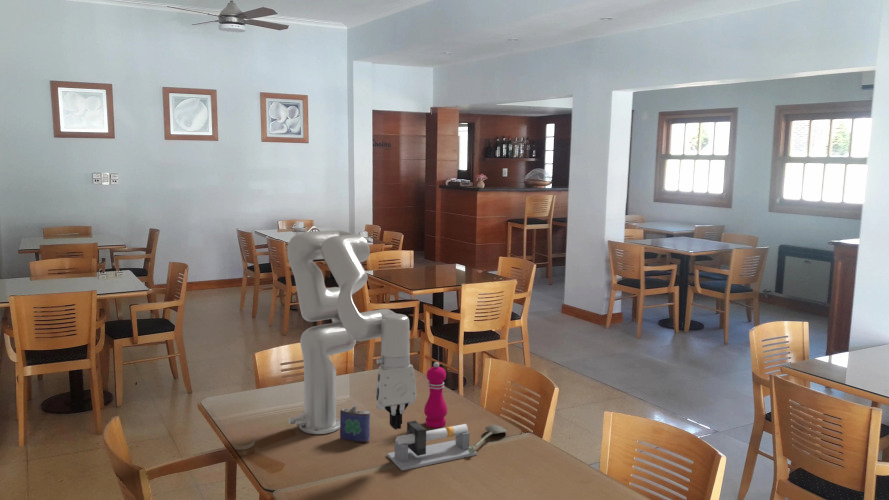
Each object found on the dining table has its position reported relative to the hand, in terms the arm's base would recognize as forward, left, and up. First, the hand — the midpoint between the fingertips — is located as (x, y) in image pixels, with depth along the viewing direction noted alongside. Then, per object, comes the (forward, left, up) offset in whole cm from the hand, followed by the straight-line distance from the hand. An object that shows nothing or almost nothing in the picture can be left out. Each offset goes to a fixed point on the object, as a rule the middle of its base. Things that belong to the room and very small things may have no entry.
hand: (395, 427), depth 181 cm
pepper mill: (+22, +20, -11) cm, 32 cm away
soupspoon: (+29, +1, -10) cm, 31 cm away
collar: (+6, +1, -8) cm, 10 cm away
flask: (-5, +19, -11) cm, 23 cm away
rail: (+11, +1, -10) cm, 15 cm away
